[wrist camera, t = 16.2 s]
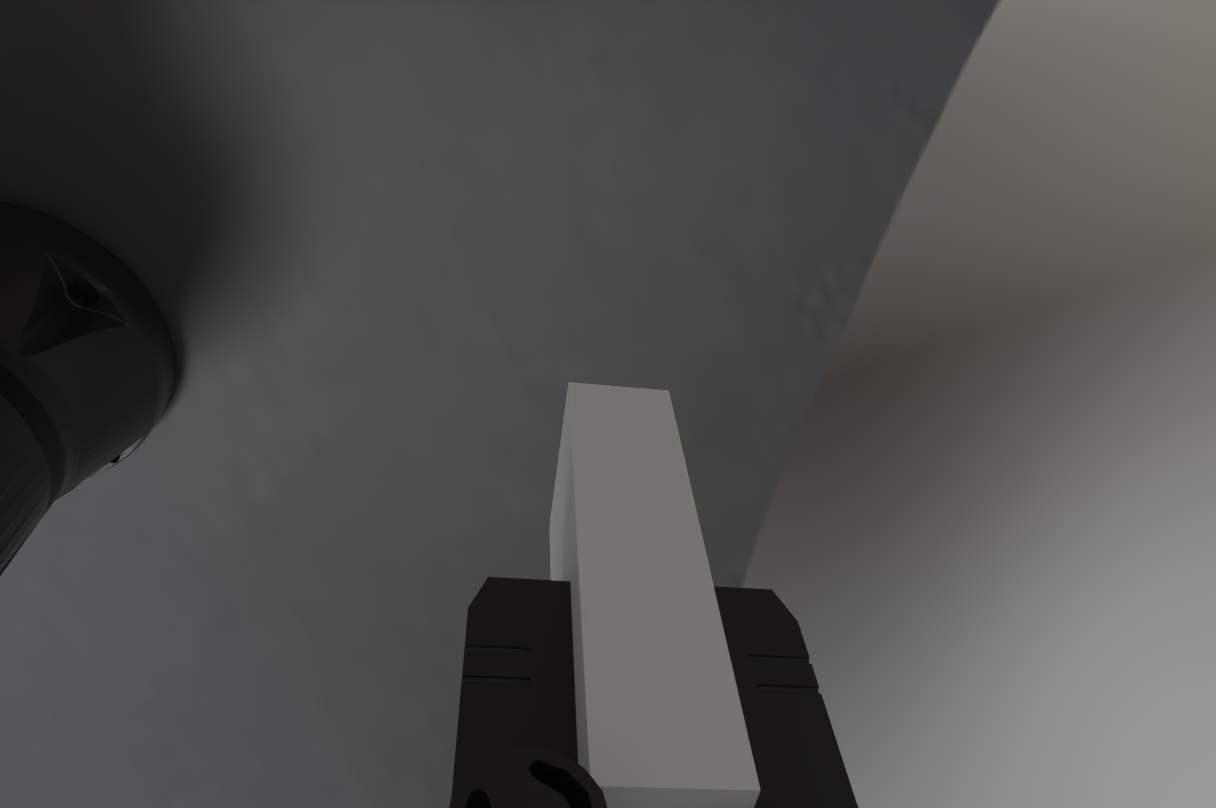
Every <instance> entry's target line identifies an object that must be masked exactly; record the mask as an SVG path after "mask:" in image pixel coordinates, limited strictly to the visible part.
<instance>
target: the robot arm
mask: <svg viewBox="0 0 1216 808" xmlns="http://www.w3.org/2000/svg"><path fill="white" fill-rule="evenodd" d="M174 379H175V359H174V352H173V347H172V343H171V339H170V336H169V333H168V330H167V328H166V325H165V323H164V320H163V318H162V316H161V314H160V312H159V311H158V309H157V307H156V305H155V304H154V302H153V301H152V299H151V298H150V296H149V295H148V293H147V292H146V291H145V289H144V288H143V287H142V285H141V284H140V283H139V282H138V281H137V279H136V278H135V277H134V276H133V275H132V274H131V273H130V272H129V271H128V270H127V269H126V268H125V267H124V266H123V265H122V264H121V263H120V262H119V261H118V260H117V259H116V258H114V257H113V256H112V255H111V254H110V253H108V252H107V251H106V250H105V249H103V248H102V247H101V246H99V245H98V244H96V243H95V242H94V241H92V240H91V239H89V238H87V237H86V236H84V235H83V234H81V233H79V232H78V231H76V230H74V229H72V228H70V227H69V226H67V225H65V224H62V223H60V222H58V221H56V220H54V219H52V218H49V217H47V216H44V215H42V214H39V213H36V212H33V211H30V210H27V209H24V208H20V207H16V206H12V205H8V204H2V203H0V576H1V574H2V573H3V571H4V570H5V569H6V567H7V566H8V564H9V563H10V562H11V560H12V559H13V557H14V556H15V555H16V553H17V552H18V550H19V549H20V548H21V546H22V545H23V543H24V542H25V541H26V539H27V538H28V536H29V535H30V534H31V532H32V531H33V529H34V528H35V527H36V525H37V524H38V522H39V521H40V520H41V518H42V517H43V516H44V514H45V513H46V512H47V510H48V509H49V508H50V506H51V505H52V504H53V502H54V501H55V500H56V499H58V498H60V497H61V496H63V495H64V494H66V493H68V492H69V491H71V490H72V489H74V488H75V487H76V486H78V485H79V484H80V483H81V482H82V481H83V480H85V479H86V478H88V477H91V476H94V475H96V474H99V473H101V472H103V471H105V470H107V469H109V468H111V467H113V466H114V465H116V464H118V463H119V462H121V461H122V460H124V459H125V458H126V457H128V456H129V455H130V454H131V453H132V452H133V451H134V450H136V449H137V448H138V447H139V446H140V445H141V443H142V442H143V441H144V440H145V439H146V437H147V436H148V435H149V433H150V432H151V430H152V429H153V427H154V426H155V424H156V423H157V421H158V420H159V419H160V417H161V416H162V414H163V412H164V411H165V409H166V407H167V405H168V403H169V400H170V397H171V394H172V390H173V386H174ZM550 570H551V580H535V579H517V578H498V577H488V578H487V580H486V581H485V583H484V584H483V586H482V588H481V589H480V591H479V592H478V594H477V595H476V597H475V598H474V600H473V601H472V603H471V604H470V606H469V607H468V616H467V627H466V639H465V651H464V661H463V673H462V684H461V695H460V707H459V718H458V729H457V741H456V752H455V764H454V775H453V786H452V798H451V802H450V807H449V808H858V806H857V803H856V800H855V797H854V794H853V790H852V788H851V784H850V781H849V778H848V775H847V772H846V769H845V766H844V763H843V760H842V757H841V753H840V751H839V747H838V745H837V741H836V738H835V735H834V732H833V729H832V726H831V723H830V720H829V716H828V713H827V710H826V707H825V704H824V701H823V698H822V695H821V694H819V692H818V688H819V686H818V683H817V679H816V676H815V673H814V670H813V667H812V665H811V664H809V655H808V652H807V649H806V646H805V643H804V639H803V636H802V633H801V630H800V627H799V624H798V621H797V620H796V619H795V618H794V616H793V615H792V614H791V613H790V611H789V610H788V609H787V608H786V607H785V605H784V604H783V603H782V602H781V600H780V599H779V598H778V597H777V596H776V594H775V593H774V592H773V591H772V590H769V589H751V588H750V589H749V588H732V587H714V585H713V581H712V577H711V572H710V568H709V564H708V559H707V555H706V551H705V546H704V542H703V538H702V533H701V529H700V524H699V520H698V516H697V511H696V507H695V503H694V498H693V494H692V490H691V485H690V481H689V477H688V472H687V468H686V464H685V459H684V455H683V450H682V446H681V442H680V437H679V433H678V429H677V424H676V420H675V416H674V411H673V407H672V403H671V398H670V394H669V391H667V390H655V389H643V388H631V387H618V386H606V385H594V384H582V383H569V382H568V390H567V397H566V405H565V413H564V420H563V428H562V435H561V443H560V451H559V458H558V466H557V473H556V481H555V489H554V496H553V504H552V511H551V519H550Z"/></svg>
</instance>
